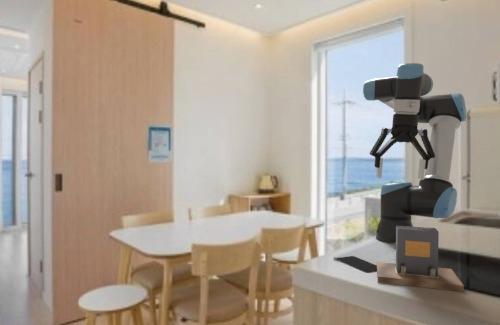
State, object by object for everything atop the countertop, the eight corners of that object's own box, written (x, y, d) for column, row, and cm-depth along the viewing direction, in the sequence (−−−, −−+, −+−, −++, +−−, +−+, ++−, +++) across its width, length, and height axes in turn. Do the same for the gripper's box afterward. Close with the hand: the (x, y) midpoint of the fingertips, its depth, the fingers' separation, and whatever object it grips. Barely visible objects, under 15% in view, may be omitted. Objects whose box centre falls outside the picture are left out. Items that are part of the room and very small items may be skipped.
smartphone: (366, 272, 101) (335, 258, 115) (366, 274, 101) (335, 260, 115) (386, 269, 104) (353, 255, 118) (386, 271, 104) (353, 257, 118)
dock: (451, 274, 101) (451, 260, 101) (463, 291, 88) (463, 275, 88) (376, 266, 107) (376, 253, 107) (377, 282, 94) (377, 267, 94)
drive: (434, 271, 98) (435, 228, 98) (438, 277, 94) (438, 231, 93) (395, 267, 101) (396, 225, 101) (397, 272, 97) (397, 229, 96)
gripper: (370, 112, 111) (364, 179, 114) (451, 114, 110) (443, 181, 113) (363, 112, 118) (358, 174, 121) (439, 114, 117) (432, 177, 120)
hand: (399, 178), depth 117 cm, fingers open, 13 cm apart
